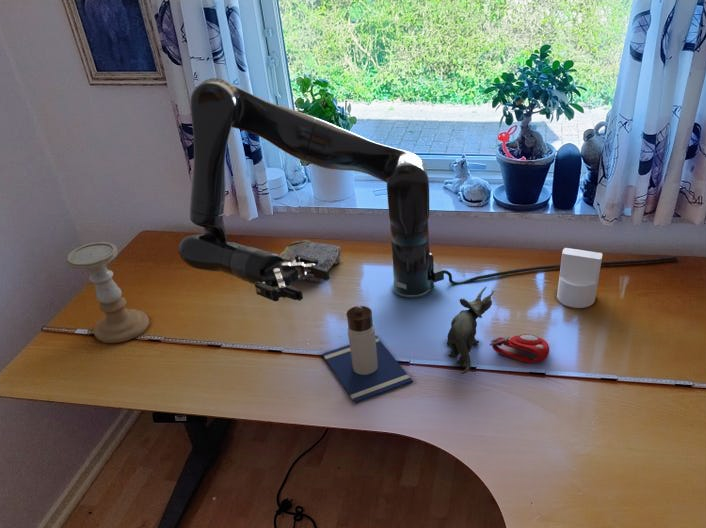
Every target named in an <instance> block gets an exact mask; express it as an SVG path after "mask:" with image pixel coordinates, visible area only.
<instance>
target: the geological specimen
mask: <svg viewBox="0 0 706 528" xmlns="http://www.w3.org/2000/svg"><path fill="white" fill-rule="evenodd" d="M341 249H342V248H341V246H339V245H333V244H328V243H322V242H316V241H310V240H309V239H305V240H297V241H293V242H291V243H290V244H288V245H287V246H286V247H285V249H284V250H283V251H282V252H281V253H280V254H279V255H278V256H280V257H281V258H282V259H283V260H284V261H291V262H292V261H294V260H295V255H297V254H299V255H303V256H307V257H311V258H315V259H318V260H319V267H320V268H324V269H327V270H328V271H329V270H330V269H331V268H332V267H333V265H334V266H336V265H338V264H340V263H341V256H342V252H341ZM297 270H298V275H300V274H301V269H300V268H297ZM305 271H306V272H311V271H310V270H308V269H305ZM304 280H306V281H311V282H314V283H315V282H316V283H322V281H323V280H322V279H319V278H316V277H314V276H310V277H306V278H305V279H304Z"/></svg>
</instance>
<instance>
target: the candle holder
mask: <svg viewBox="0 0 706 528" xmlns="http://www.w3.org/2000/svg"><path fill="white" fill-rule="evenodd" d="M118 254H119V248H118V247H117V245H116V244H115V243H112V242H109V241H97V242H90V243H87V244H83V245H81V246H77V247H76V248H74V249H73V250H71V251H70V252H69V253H68V254H67V256H66V259H65V260H66V263H67V264H68V266H70V267H71V268H73V269H78V270H86V269H87V270H89V272H90V275H89V277H88V281H89V282H91V283H93V284H94V289H95V292H94V293H95V299H96V301H98V302H99V306H98V308H99V310H100V312H103V313H104V316H103V317H102V318H100V319H99V320H98V321H97V322H96V323H95V325H94V327H93V335H94V337H95V338H96V340H98V341H99V342H101V343H105V344H119V343H124V342H127V341H130V340H132V339H135V338H137V337H139V336H140V335H142V334H143V333H144V332H145V331H146V330H147V329H148V327H149V325H150V319H149V316H148V314H146V312H144V311H142V310H139V309H133V308H132V309H131V308H126V305H127V299H126V298H125V297H123V296H122V295H123V293H122V289H121V288H120V287H119V286H118V284H117V283H116V282H115V280H114V279H113V277H114V272H113V271H112V270H111V269H108V267H107V264H108V263H110V262H111V261H113V260H115V258H116V257H117V256H118Z"/></svg>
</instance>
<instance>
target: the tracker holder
mask: <svg viewBox="0 0 706 528" xmlns="http://www.w3.org/2000/svg"><path fill="white" fill-rule="evenodd" d="M490 342H491V343H489V347H492V349H493V350H494V351H495V352H496V353H498V354H500V355H502V356H505V357H506V358H507V357H508V358H511V359H514V360H517V361H520V362H523V363H526V364H537V363H542V362H543V361H545V360H546V359H547V358H548V356H549V353H550V345H549V343H548V342H547V341H546V340H545V339H544V338H541V337H538V336H536V335H532V334H527V333H526V334H520V335H513V336H511V337H510V336H505V337H497V338H494V339H493V340H491V341H490ZM502 346H505V347H508V348H512V349H517V350H520V351H524V352H525V351H526V352H529V353H532V354H534V355H535V356H536V357H535V358H531V357H528V356H525V355H522V354H517V353H515V352H512V351H508V350H505V349H503V348H502Z"/></svg>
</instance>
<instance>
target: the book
mask: <svg viewBox="0 0 706 528" xmlns="http://www.w3.org/2000/svg"><path fill="white" fill-rule="evenodd" d="M375 339H376V350H377V360H378V368H377V370H376V371H375V372H373V373H371V374H367V375H361V374H357V373H356V372H354V370H353V367H352V359H351V352H350V344H347V345H344V346H341V347H338V348H335V349H332V350H329V351H326V352H324V353H322V357H323V358H324V360H325V362H326V363H327V364H328V366H329V367H330V369H331V370H332V372H333V374H334V375H335V376H336V378H337V379H338V381H339V382H340V384H341V385H342V386H343V388H344V390H345V391H346V392H347V394H348V396H349V397H350V398H351V400H352V402H353V403H354V404H358V403H361V402H364V401H366V400H369V399H371V398H374V397H376V396H380V395H383V394H385V393H387V392H390V391H393V390H397V389H398V388H401V387H404V386H407V385H410V384H412V383H413V382H414V380H413V379H412V378H411V376H410V375H409V374H408V373H407V372H406V370H405V369H404V368H403V367H402V365H401V364H400V363H399V362H398V361H397V360H396V358H395V357H394V355H393V354H392V353H391V351H389V349H388V348H387V347H386V346H385V345H384V343H383V342H382V341H381V339H379V337H378V336H377V335H375Z"/></svg>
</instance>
